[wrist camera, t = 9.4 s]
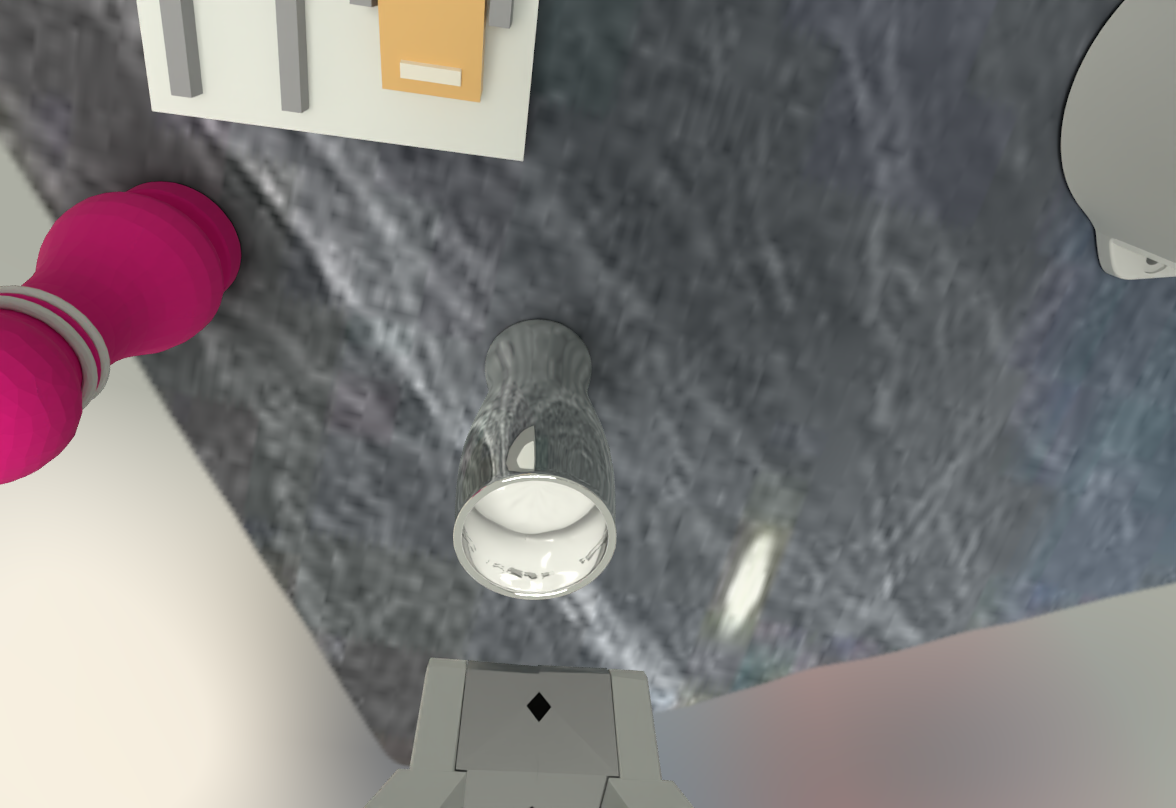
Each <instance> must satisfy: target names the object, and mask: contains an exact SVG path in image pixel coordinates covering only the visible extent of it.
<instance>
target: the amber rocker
mask: <svg viewBox="0 0 1176 808" xmlns="http://www.w3.org/2000/svg"><path fill="white" fill-rule="evenodd" d="M486 13H487V0H378V14H379V34H380V54H381V74H382V89H389V90H396V91H403V92H410V93H417V94H424V95H431V96H438V97H445V98H452V99H459V100H466V101H473V102H480V101H481V96H482V91H483V74H484V53H485V33H486Z"/></svg>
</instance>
